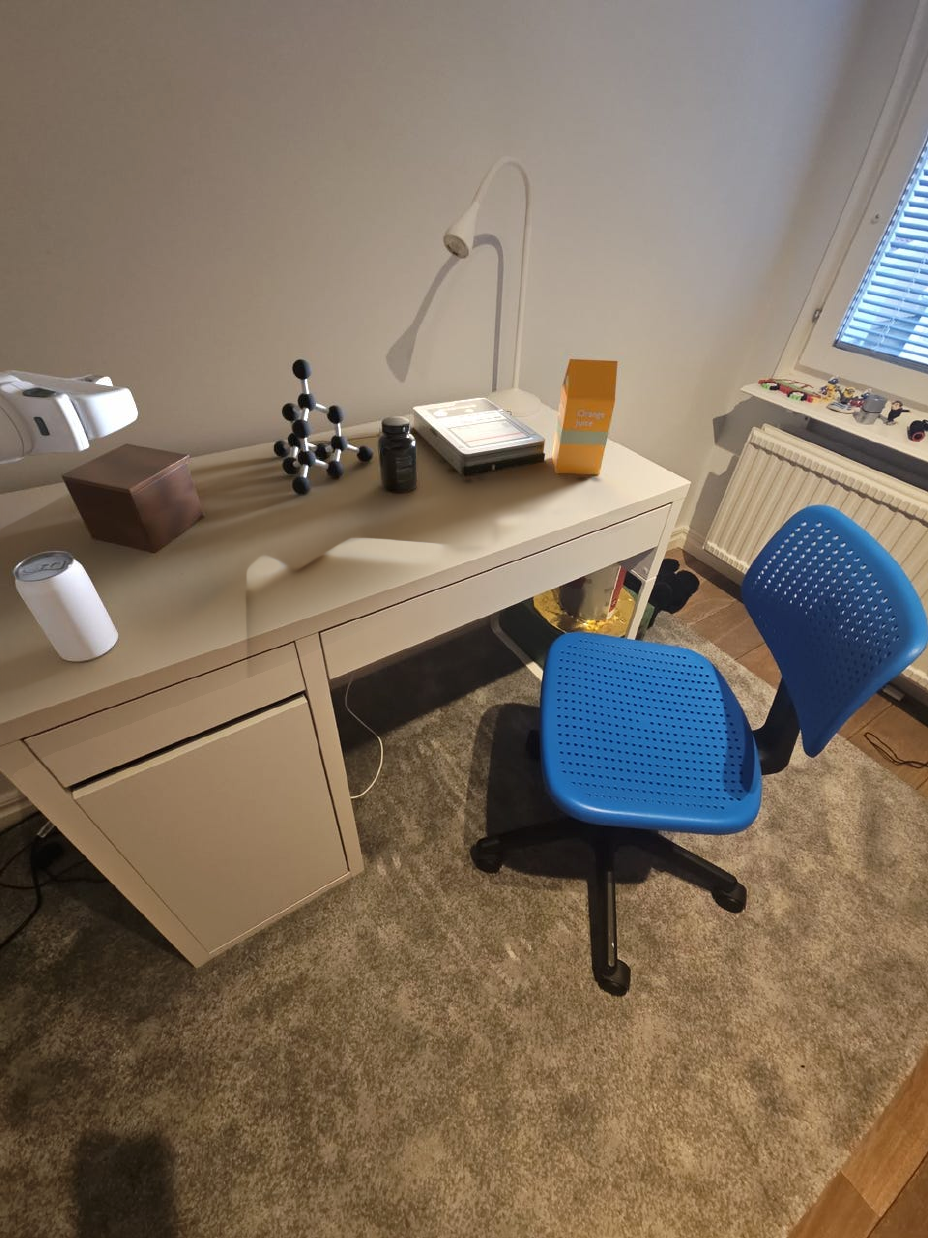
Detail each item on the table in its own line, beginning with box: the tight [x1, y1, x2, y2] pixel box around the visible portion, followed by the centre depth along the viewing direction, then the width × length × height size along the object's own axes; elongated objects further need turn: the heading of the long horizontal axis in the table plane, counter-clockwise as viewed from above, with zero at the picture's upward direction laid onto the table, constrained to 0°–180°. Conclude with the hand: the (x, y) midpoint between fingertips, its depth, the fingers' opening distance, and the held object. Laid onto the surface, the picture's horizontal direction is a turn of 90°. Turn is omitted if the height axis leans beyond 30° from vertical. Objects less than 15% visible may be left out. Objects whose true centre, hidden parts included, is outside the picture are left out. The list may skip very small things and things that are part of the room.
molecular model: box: [273, 358, 374, 496], centre depth 98 cm, size 18×20×20 cm
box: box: [63, 461, 205, 554], centre depth 84 cm, size 11×12×10 cm
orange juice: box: [551, 358, 618, 475], centre depth 103 cm, size 8×9×20 cm
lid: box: [61, 443, 191, 494], centre depth 80 cm, size 12×12×1 cm
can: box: [12, 550, 119, 663], centre depth 62 cm, size 6×6×12 cm
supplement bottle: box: [376, 416, 418, 494], centre depth 96 cm, size 7×7×12 cm
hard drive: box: [412, 397, 546, 478], centre depth 115 cm, size 18×27×4 cm
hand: (103, 381), depth 74 cm, fingers closed
